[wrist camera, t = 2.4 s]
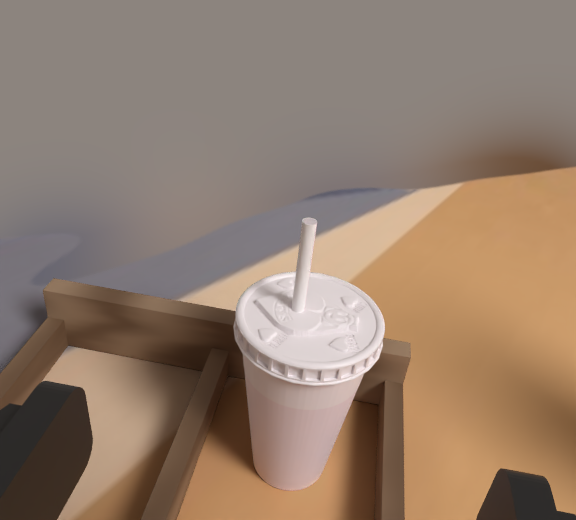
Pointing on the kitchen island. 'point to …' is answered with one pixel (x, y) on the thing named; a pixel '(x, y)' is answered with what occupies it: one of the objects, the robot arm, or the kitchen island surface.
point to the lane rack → (200, 356)
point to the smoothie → (303, 364)
